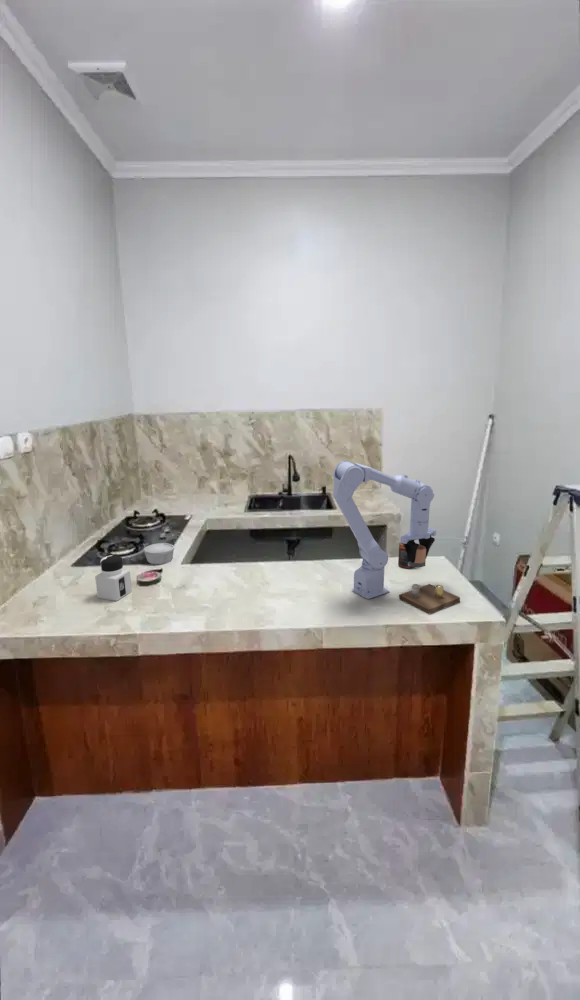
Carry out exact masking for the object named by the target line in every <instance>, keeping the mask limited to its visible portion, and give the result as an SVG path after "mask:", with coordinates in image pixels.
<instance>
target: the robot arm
mask: <svg viewBox="0 0 580 1000" xmlns="http://www.w3.org/2000/svg"><path fill="white" fill-rule="evenodd" d="M332 477H333V492H332V493H333V494H332V495H333V499H334V500H335V502H336V504H337V507H338V508H339V510H340V512H341V513H342V515H343V517H344V519H345V521H346V522H347V524H348V527H349V528H350V530H351V531H352V533H353V536H354V537H355V539H356V541H357V545H358V548H359V556H360V557H361V558H362V561H361V565H360V567H359V568H357V569H355V570H354V573H353V588H352V589H351V591H353V592H354V593H356V594H358V595H360V596H361V597H364V598H365V599H366V600H369V599H372V598H376V597H378V596H382V595H384V594H387V593H390V589H387V588H385V587H384V586H385V566H387V564H388V561H389V556H388V554H387V553H386V551H384V550H383V549H381V546H380V545H379V544H378V542H377V541H376V540H375V539H374V536H373V535H372V532H371V531H370V529H369V528H368V525H367V523H366V522H365V519H364V517H363V515H362V513H361V512H360V510H359V508H358V506H357V505H356V502H355V500H354V498H353V495H354V492H355V491H356V490H357V489H358V488H359V487H360V486H361V484H362V483H367V482H369V481H370V480H371V481H374V482H377V483H380V484H382V485H385V486H388V487H390V490H391V491H392V492H393V493H395V494H398V495H400V496H403V497H407V498H408V499H411V500H410V501H411V504H410V518H409V519H410V520H409V521H410V522H409V532H407V533H406V534H404V535H402V536H400V542H401V543H402V544H403V545H404V547H405V550H406V553H407V557H408V561H410V562H412V563H414V562H415V557H416V551H417V548H418V546H419V545H423V546H426V559H427V557H428V555H429V551H430V549H431V547H432V546H433V544H434V543H435V537H434V536H436V535H437V530H436V529H434V528H429V524H430V523H429V521H430V508H431V503H432V501H433V499H434V497H435V493H434V490H433V489H432V487H431V486H429V485H427V484H425V483H423V482H421V480H418V479H413V478H409V475H406V474H404V473H403V474H396V475H394V476H392V475H390V474H389V473H388V474H387V473H386V472H382V471H380V470H378V469H376V468H373V467H370V466H368V465H365V464H361V463H358V462H357V463H356V462H351V461H349V460H342V461H339V462H338V463H337V465H336V467H335V469H334V471H333V473H332ZM432 536H433V537H432ZM415 541H418V543H417V542H415Z"/></svg>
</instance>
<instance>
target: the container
mask: <svg viewBox="0 0 580 1000" xmlns="http://www.w3.org/2000/svg"><path fill="white" fill-rule="evenodd" d="M123 566H124V564H123V557H122V556H120V555H117V554H112V555H111V554H110V555H107V556H104V557H102V558H101V559H100V571H101V572H100V573H99V574H97V575H95V585H96V594H97V598H98V599H102V600H109V601H113V602H118V601H120V600H121V599H122V598H124V597H126V596H127V595H128V594H130V593H132V591H133V588H132V577H131V570H130V569H124V567H123Z"/></svg>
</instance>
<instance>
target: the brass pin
mask: <svg viewBox="0 0 580 1000" xmlns="http://www.w3.org/2000/svg"><path fill="white" fill-rule="evenodd" d="M435 587H436V592H435V597H436V598H443V590H444V585H442V584H437V585H435Z"/></svg>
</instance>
